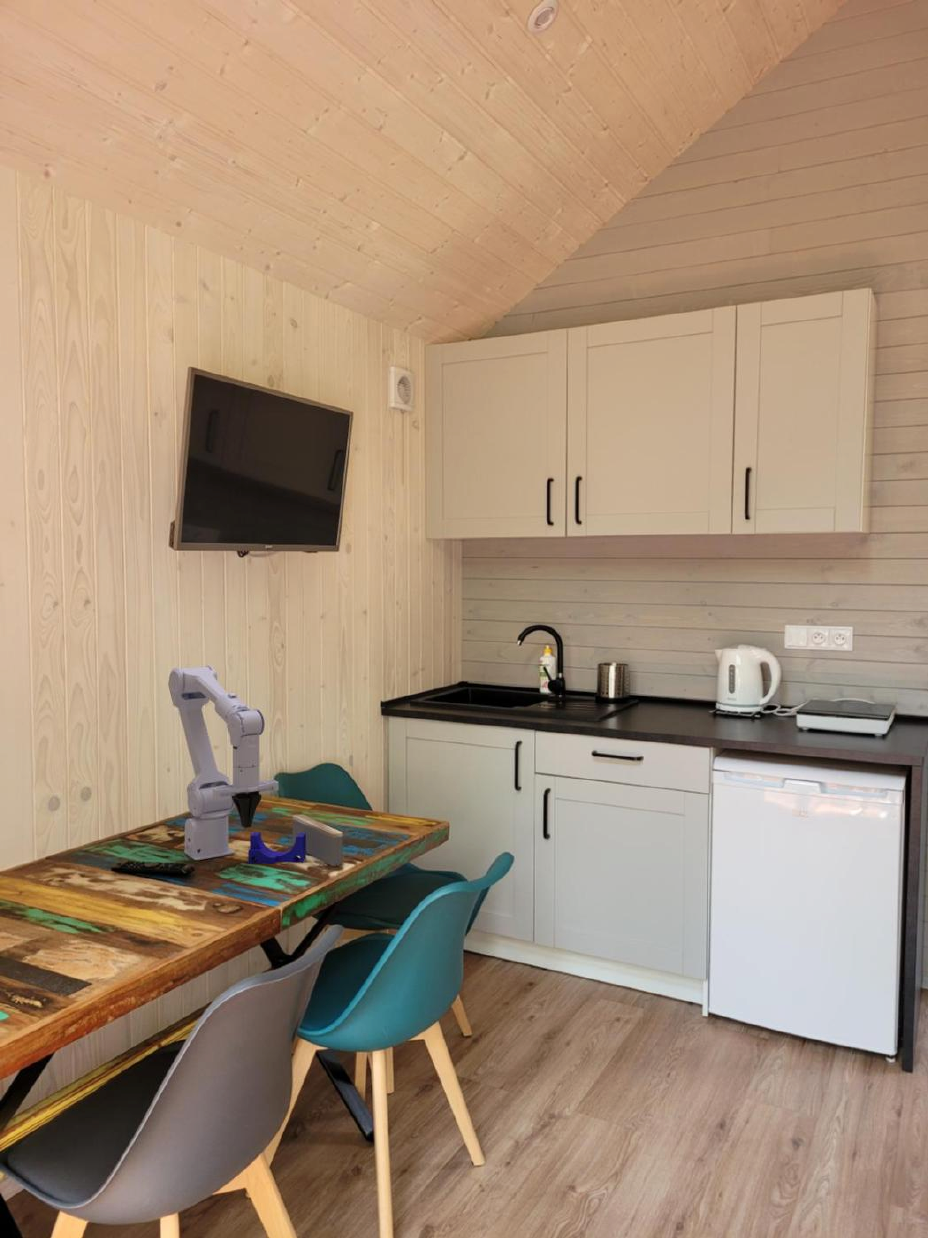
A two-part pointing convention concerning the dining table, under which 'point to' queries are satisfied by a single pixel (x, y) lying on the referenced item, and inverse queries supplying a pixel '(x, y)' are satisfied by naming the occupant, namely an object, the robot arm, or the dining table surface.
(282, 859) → the blue half-round bracket
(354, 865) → the dining table surface
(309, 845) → the wall board
